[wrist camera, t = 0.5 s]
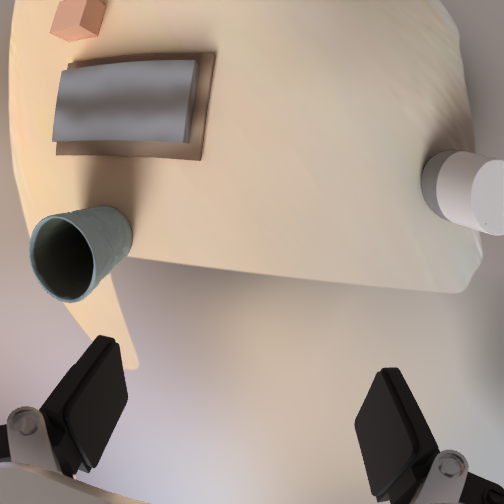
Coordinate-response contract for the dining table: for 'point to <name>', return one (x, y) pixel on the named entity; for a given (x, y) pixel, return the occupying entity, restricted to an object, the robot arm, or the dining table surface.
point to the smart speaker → (466, 189)
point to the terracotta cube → (78, 19)
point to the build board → (134, 106)
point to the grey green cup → (78, 250)
